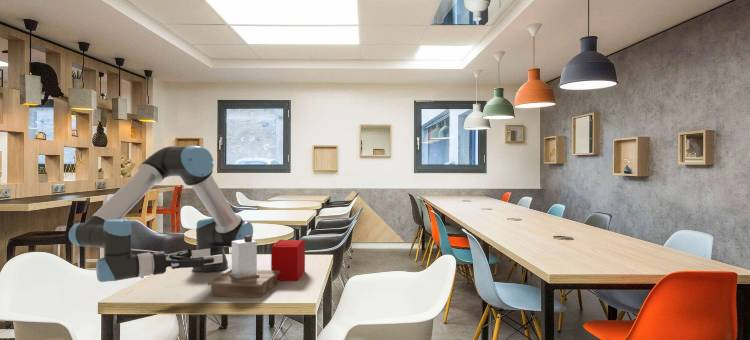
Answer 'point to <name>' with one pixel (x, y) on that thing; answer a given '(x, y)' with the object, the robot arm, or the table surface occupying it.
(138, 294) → the table surface
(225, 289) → the walnut stand
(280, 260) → the fire alarm
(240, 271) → the aluminium housing
